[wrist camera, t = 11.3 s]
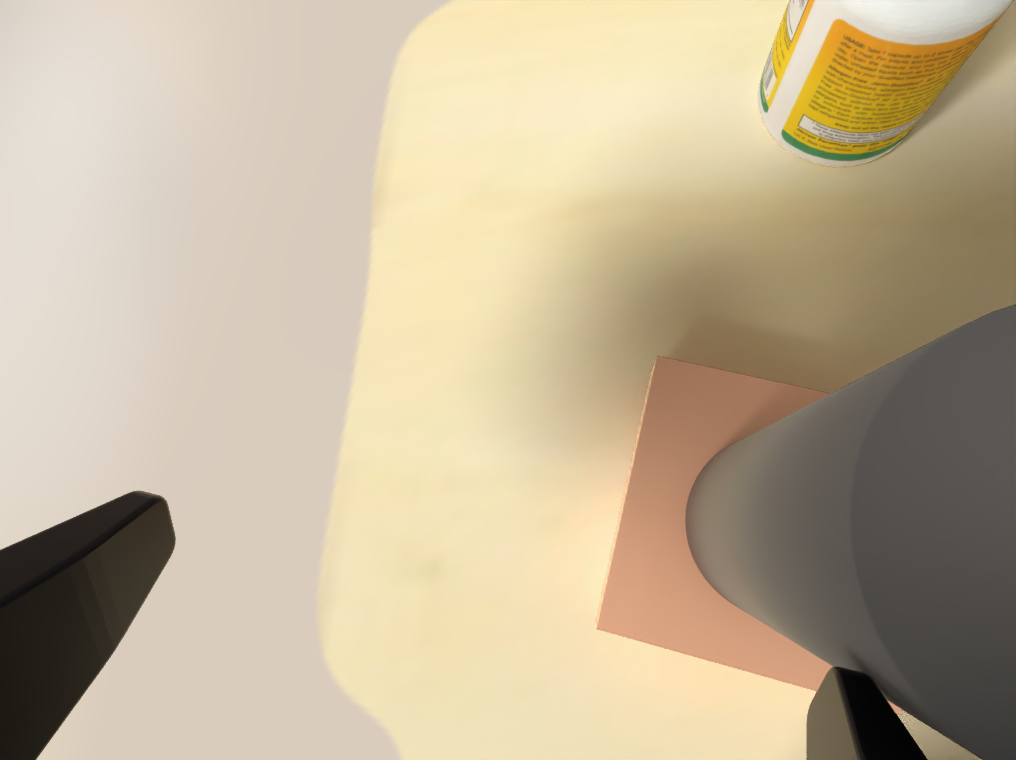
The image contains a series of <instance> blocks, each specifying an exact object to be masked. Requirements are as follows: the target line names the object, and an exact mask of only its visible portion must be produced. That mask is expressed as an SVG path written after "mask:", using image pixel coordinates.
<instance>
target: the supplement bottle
mask: <svg viewBox="0 0 1016 760" xmlns="http://www.w3.org/2000/svg"><path fill="white" fill-rule="evenodd" d="M1012 1H1013V0H790V1H789V3H788V6H787V8H786V11H785V13H784V16H783V19H782V21H781V24H780V27H779V30H778V33H777V35H776V38H775V40H774V43H773V46H772V48H771V51H770V54H769V56H768V59H767V62H766V64H765V67H764V71H763V73H762V76H761V80H760V84H759V90H758V106H759V111H760V115H761V118H762V121H763V123H764V125H765V127H766V129H767V131H768V132H769V134H770V135H771V136H772V138H773V139H774V140H775V141H776V142H777V143H778V144H779V145H780V146H781V147H782V148H784V149H785V150H786V151H788V152H789V153H791V154H793V155H795V156H797V157H799V158H801V159H804V160H807V161H809V162H812V163H816V164H819V165H824V166H830V167H849V166H856V165H860V164H864V163H868V162H871V161H873V160H876V159H878V158H880V157H882V156H883V155H885V154H887V153H889V152H890V151H891V150H893V149H894V148H895V147H896V146H898V145H899V144H900V143H901V142H902V141H903V139H904V138H905V137H906V136H907V135H908V133H909V132H910V131H911V130H912V129H913V127H914V126H915V125H916V124H917V122H918V121H919V120H920V119H921V117H922V116H923V115H924V114H925V113H926V111H927V110H928V109H929V107H930V106H931V105H932V104H933V102H934V101H935V100H936V98H937V97H938V96H939V94H940V93H941V92H942V91H943V89H944V88H945V87H946V86H947V84H948V83H949V82H950V80H951V79H952V78H953V77H954V76H955V74H956V73H957V72H958V70H959V69H960V68H961V66H962V65H963V64H964V62H965V61H966V60H967V59H968V57H969V56H970V55H971V54H972V52H973V51H974V50H975V49H976V47H977V46H978V45H979V44H980V42H981V41H982V40H983V38H984V37H985V36H986V35H987V33H988V32H989V31H990V29H991V28H992V27H993V25H994V24H995V23H996V22H997V21H998V19H999V18H1000V17H1001V16H1002V14H1003V13H1004V12H1005V11H1006V9H1007V8H1008V7H1009V5H1010V4H1011V3H1012Z"/></svg>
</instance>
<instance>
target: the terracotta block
mask: <svg viewBox="0 0 1016 760" xmlns="http://www.w3.org/2000/svg"><path fill="white" fill-rule="evenodd" d="M829 394H831V393H826V392H822V391H817V390H812V389H808V388H803V387H799V386H794V385H789V384H785V383H780V382H775V381H771V380H766V379H762V378H757V377H752V376H748V375H743V374H738V373H734V372H729V371H725V370H720V369H715V368H711V367H706V366H701V365H697V364H692V363H688V362H683V361H678V360H674V359H669V358H664V357H660V356H657V358H656V361H655V363H654V366H653V369H652V372H651V374H650V378H649V383H648V387H647V392H646V396H645V401H644V405H643V410H642V414H641V419H640V423H639V428H638V432H637V437H636V441H635V446H634V450H633V455H632V459H631V463H630V468H629V472H628V477H627V481H626V486H625V490H624V495H623V499H622V504H621V508H620V513H619V517H618V522H617V526H616V531H615V535H614V540H613V544H612V549H611V553H610V558H609V562H608V567H607V571H606V576H605V580H604V585H603V589H602V594H601V598H600V603H599V607H598V612H597V616H596V628H597V629H598V630H602V631H605V632H609V633H613V634H616V635H620V636H623V637H627V638H630V639H634V640H637V641H641V642H644V643H648V644H652V645H655V646H659V647H662V648H666V649H669V650H673V651H676V652H680V653H683V654H687V655H691V656H694V657H698V658H701V659H705V660H708V661H712V662H715V663H719V664H722V665H726V666H730V667H733V668H737V669H740V670H744V671H747V672H751V673H754V674H758V675H761V676H765V677H769V678H772V679H776V680H779V681H783V682H786V683H790V684H793V685H797V686H800V687H804V688H808V689H811V690H815V691H818V689H819V687H820V685H821V683H822V681H823V679H824V677H825V675H826V674H827V672H828V671H829V669H830V668H832V667H833V666H831V665H830V664H828V663H827V662H825V661H823V660H822V659H820V658H819V657H817V656H815V655H814V654H812V653H810V652H809V651H807V650H806V649H804V648H802V647H801V646H799V645H798V644H796V643H794V642H793V641H791V640H790V639H788V638H786V637H785V636H783V635H782V634H780V633H778V632H777V631H775V630H773V629H772V628H770V627H769V626H767V625H765V624H764V623H762V622H761V621H759V620H757V619H756V618H754V617H753V616H751V615H749V614H748V613H746V612H745V611H743V610H741V609H740V608H738V607H736V606H735V605H733V604H732V603H730V602H729V601H728V600H726V599H725V598H723V597H722V596H721V595H720V594H719V593H718V592H717V591H716V590H715V589H713V587H712V586H711V585H710V584H709V583H708V582H707V580H706V579H705V578H704V576H703V575H702V573H701V572H700V570H699V569H698V567H697V565H696V563H695V561H694V559H693V557H692V554H691V551H690V548H689V545H688V540H687V535H686V525H685V517H686V507H687V502H688V497H689V494H690V491H691V488H692V486H693V484H694V482H695V480H696V478H697V476H698V475H699V473H700V472H701V470H702V469H703V467H704V466H705V465H706V464H707V463H708V462H709V461H710V460H711V459H712V458H713V457H714V456H715V455H716V454H718V453H719V452H720V451H722V450H723V449H725V448H726V447H728V446H730V445H731V444H733V443H735V442H737V441H739V440H741V439H743V438H745V437H747V436H749V435H751V434H753V433H755V432H757V431H759V430H761V429H763V428H765V427H767V426H769V425H770V424H772V423H774V422H776V421H778V420H780V419H782V418H784V417H786V416H788V415H790V414H792V413H794V412H796V411H798V410H800V409H802V408H804V407H806V406H808V405H809V404H811V403H813V402H815V401H817V400H819V399H821V398H823V397H825V396H827V395H829ZM887 701H888V700H887ZM888 703H889V704H890V705H891V707H892V708H893V710H894V711H895V713H896V714H900V715H901V714H902V709H901V708H899V707H897V706H896V705H894V704H893V703H891V702H889V701H888Z"/></svg>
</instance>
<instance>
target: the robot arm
mask: <svg viewBox="0 0 1016 760" xmlns="http://www.w3.org/2000/svg"><path fill="white" fill-rule="evenodd" d="M175 540H176V539H175V532H174V528H173V524H172V520H171V516H170V511H169V507H168V504H167V501H166V500H165V499H164V498H163V497H162V496H160V495H156V494H151V493H148V492H144V491H133V492H130V493H128V494H125V495H123V496H121V497H119V498H116V499H114V500H112V501H110V502H107V503H105V504H103V505H101V506H98V507H96V508H94V509H92V510H90V511H87V512H85V513H83V514H80V515H78V516H76V517H73V518H71V519H69V520H67V521H65V522H62V523H60V524H58V525H55V526H53V527H51V528H49V529H46V530H44V531H42V532H40V533H38V534H35V535H33V536H31V537H29V538H26V539H24V540H22V541H19V542H17V543H15V544H13V545H10V546H8V547H6V548H4V549H2V550H0V760H36V759H37V758H38V756H39V755H40V753H41V752H42V751H43V749H44V748H45V747H46V745H47V744H48V743H49V741H50V740H51V738H52V737H53V736H54V734H55V733H56V731H57V730H58V729H59V727H60V726H61V725H62V723H63V722H64V721H65V719H66V718H67V716H68V715H69V713H70V712H71V711H72V709H73V708H74V707H75V705H76V704H77V703H78V701H79V700H80V698H81V697H82V696H83V694H84V693H85V692H86V690H87V689H88V687H89V686H90V685H91V683H92V682H93V681H94V679H95V678H96V676H97V675H98V674H99V672H100V671H101V670H102V668H103V667H104V665H105V664H106V662H107V661H108V660H109V658H110V657H111V655H112V654H113V652H114V651H115V649H116V648H117V646H118V645H119V643H120V641H121V640H122V638H123V637H124V635H125V633H126V632H127V630H128V628H129V626H130V625H131V623H132V622H133V620H134V618H135V616H136V615H137V613H138V611H139V610H140V608H141V606H142V604H143V603H144V601H145V599H146V598H147V596H148V594H149V593H150V591H151V589H152V587H153V585H154V584H155V582H156V581H157V579H158V577H159V575H160V574H161V572H162V570H163V569H164V567H165V565H166V564H167V562H168V560H169V559H170V557H171V554H172V553H173V550H174V547H175ZM807 760H927V758H926V757H925V755H924V754H923V752H922V751H921V749H920V748H919V746H918V745H917V743H916V742H915V741H914V739H913V738H912V736H911V735H910V733H909V732H908V730H907V729H906V727H905V726H904V724H903V723H902V722H901V720H900V719H899V717H898V716H897V714H896V713H895V711H894V710H893V708H892V707H891V705H890V704H889V703H888V701H887V700H886V698H885V697H884V695H883V694H882V692H881V691H880V689H879V688H878V686H877V685H876V684H875V682H874V681H873V679H872V678H870V677H869V676H868V675H867V674H865V673H862V672H859V671H855V670H851V669H847V668H843V667H839V666H834V667H832V668H830V669H829V671H828V672H827V674H826V675H825V677H824V679H823V681H822V683H821V685H820V687H819V689H818V691H817V692H816V694H815V696H814V698H813V700H812V702H811V704H810V707H809V710H808V715H807Z"/></svg>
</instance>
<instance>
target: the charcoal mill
mask: <svg viewBox="0 0 1016 760" xmlns="http://www.w3.org/2000/svg"><path fill="white" fill-rule="evenodd" d="M685 525H686V535H687V540H688V545H689V548H690V551H691V554H692V557H693V559H694V561H695V563H696V565H697V567H698V569H699V570H700V572H701V573H702V575H703V576H704V578H705V579H706V580H707V582H708V583H709V584H710V585H711V586H712V587H713V589H715V590H716V591H717V592H718V593H719V594H720V595H721V596H722V597H723V598H725V599H726V600H728V601H729V602H730V603H732V604H733V605H735V606H736V607H738V608H740V609H741V610H743V611H745V612H746V613H748V614H749V615H751V616H753V617H754V618H756V619H757V620H759V621H761V622H762V623H764V624H765V625H767V626H769V627H770V628H772V629H773V630H775V631H777V632H778V633H780V634H782V635H783V636H785V637H786V638H788V639H790V640H791V641H793V642H794V643H796V644H798V645H799V646H801V647H802V648H804V649H806V650H807V651H809V652H810V653H812V654H814V655H815V656H817V657H819V658H820V659H822V660H823V661H825V662H827V663H828V664H830V665H831V666H833V667H834V666H839V667H843V668H847V669H851V670H855V671H859V672H862V673H865V674H867V675H868V676H869V677H870V678H872V679H873V681H874V682H875V684H876V685H877V686H878V688H879V689H880V691H881V692H882V694H883V695H884V697H885V698H886V700H888V701H889V702H891V703H893V704H894V705H896V706H897V707H899V708H901V709H902V710H904V711H905V712H907V713H909V714H910V715H912V716H913V717H915V718H917V719H918V720H920V721H921V722H923V723H925V724H926V725H928V726H930V727H931V728H933V729H934V730H936V731H938V732H939V733H941V734H942V735H944V736H946V737H947V738H949V739H950V740H952V741H954V742H955V743H957V744H958V745H960V746H962V747H963V748H965V749H967V750H968V751H970V752H971V753H973V754H975V755H976V756H978V757H979V758H981V759H983V760H1016V305H1013V306H1010V307H1007V308H1004V309H1000V310H997V311H994V312H992V313H990V314H987V315H985V316H983V317H981V318H979V319H976V320H974V321H972V322H970V323H968V324H965V325H963V326H962V327H960V328H958V329H956V330H954V331H952V332H950V333H948V334H946V335H944V336H942V337H940V338H938V339H936V340H934V341H932V342H930V343H928V344H926V345H924V346H923V347H921V348H919V349H917V350H915V351H913V352H911V353H909V354H907V355H905V356H903V357H901V358H899V359H897V360H895V361H893V362H891V363H889V364H887V365H885V366H884V367H882V368H880V369H878V370H876V371H874V372H872V373H870V374H868V375H866V376H864V377H862V378H860V379H858V380H856V381H854V382H852V383H850V384H848V385H847V386H845V387H843V388H841V389H839V390H837V391H835V392H833V393H831V394H829V395H827V396H825V397H823V398H821V399H819V400H817V401H815V402H813V403H811V404H809V405H808V406H806V407H804V408H802V409H800V410H798V411H796V412H794V413H792V414H790V415H788V416H786V417H784V418H782V419H780V420H778V421H776V422H774V423H772V424H770V425H769V426H767V427H765V428H763V429H761V430H759V431H757V432H755V433H753V434H751V435H749V436H747V437H745V438H743V439H741V440H739V441H737V442H735V443H733V444H731V445H730V446H728V447H726V448H725V449H723V450H722V451H720V452H719V453H718V454H716V455H715V456H714V457H713V458H712V459H711V460H710V461H709V462H708V463H707V464H706V465H705V466H704V467H703V469H702V470H701V472H700V473H699V475H698V476H697V478H696V480H695V482H694V484H693V486H692V488H691V491H690V494H689V497H688V502H687V507H686V517H685Z"/></svg>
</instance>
